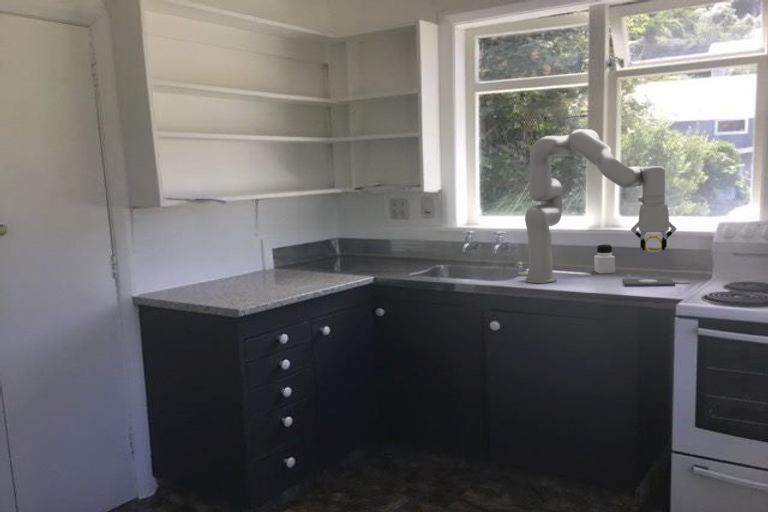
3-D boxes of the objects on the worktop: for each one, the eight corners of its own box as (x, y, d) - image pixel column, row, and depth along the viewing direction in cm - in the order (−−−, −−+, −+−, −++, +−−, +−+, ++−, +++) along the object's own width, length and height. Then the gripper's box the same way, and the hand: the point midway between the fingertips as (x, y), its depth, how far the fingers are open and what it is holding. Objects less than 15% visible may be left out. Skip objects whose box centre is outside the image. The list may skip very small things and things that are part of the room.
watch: (644, 252, 250) (643, 236, 249) (645, 251, 252) (644, 235, 252) (662, 252, 247) (660, 235, 246) (663, 251, 249) (662, 234, 248)
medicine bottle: (615, 272, 294) (615, 245, 292) (599, 273, 294) (598, 246, 292) (610, 270, 301) (610, 243, 299) (594, 271, 301) (593, 244, 300)
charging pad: (624, 286, 261) (624, 283, 261) (622, 281, 273) (622, 278, 273) (693, 285, 255) (693, 283, 254) (688, 280, 266) (688, 277, 266)
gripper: (629, 202, 246) (629, 251, 248) (680, 200, 241) (680, 251, 243) (627, 200, 253) (627, 248, 255) (677, 199, 248) (677, 248, 251)
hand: (653, 249), depth 249 cm, fingers closed on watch, 6 cm apart
